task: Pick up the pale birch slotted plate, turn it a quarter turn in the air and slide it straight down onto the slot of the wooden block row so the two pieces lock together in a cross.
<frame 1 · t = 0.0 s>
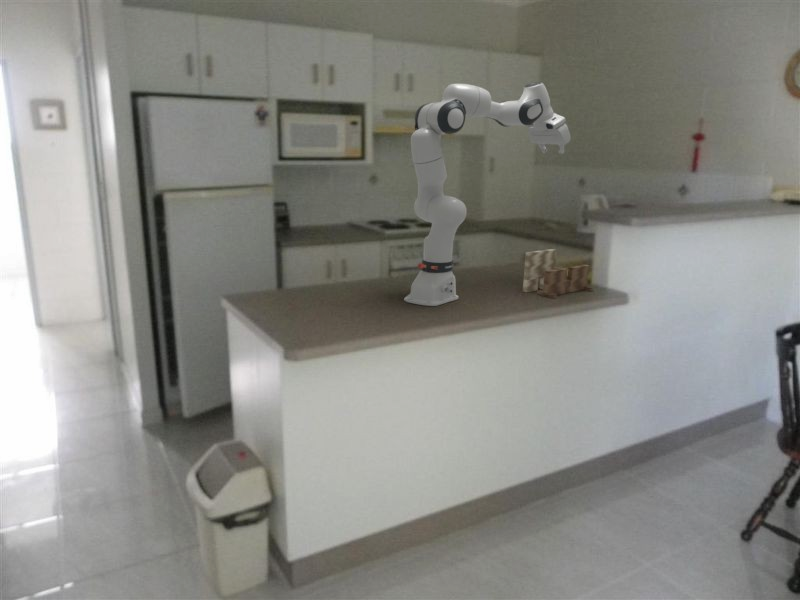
hand: (553, 152, 246), 54 cm above the countertop, fingers open, 8 cm apart
birch plate: (538, 289, 245), on the countertop
wooden block row: (565, 292, 241), on the countertop
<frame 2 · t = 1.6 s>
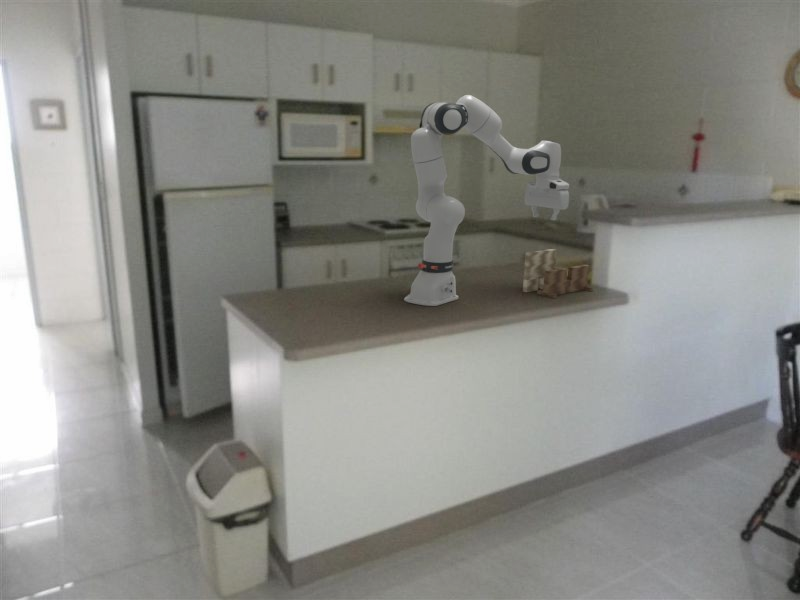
hand: (544, 218, 237), 29 cm above the countertop, fingers open, 8 cm apart
nothing on the countertop moved.
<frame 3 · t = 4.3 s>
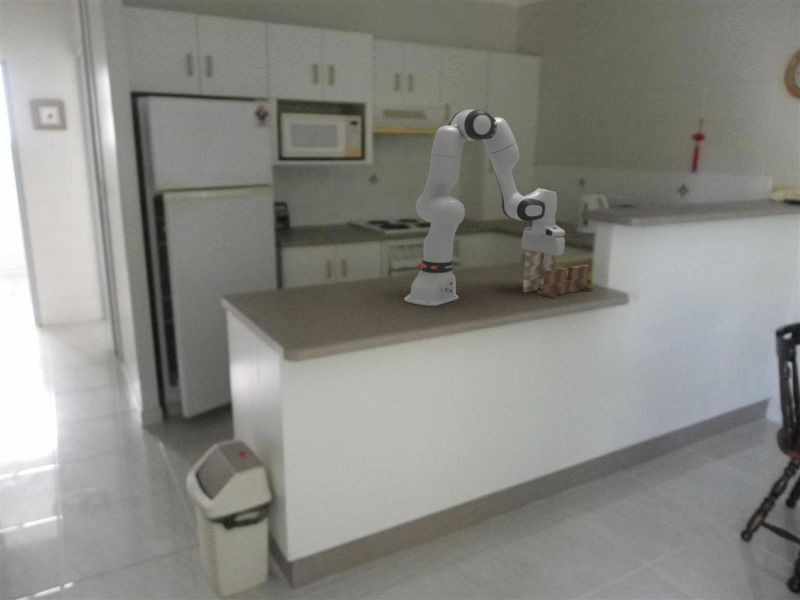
hand: (540, 262, 242), 11 cm above the countertop, fingers closed on birch plate, 2 cm apart
birch plate: (538, 289, 245), on the countertop, touching gripper
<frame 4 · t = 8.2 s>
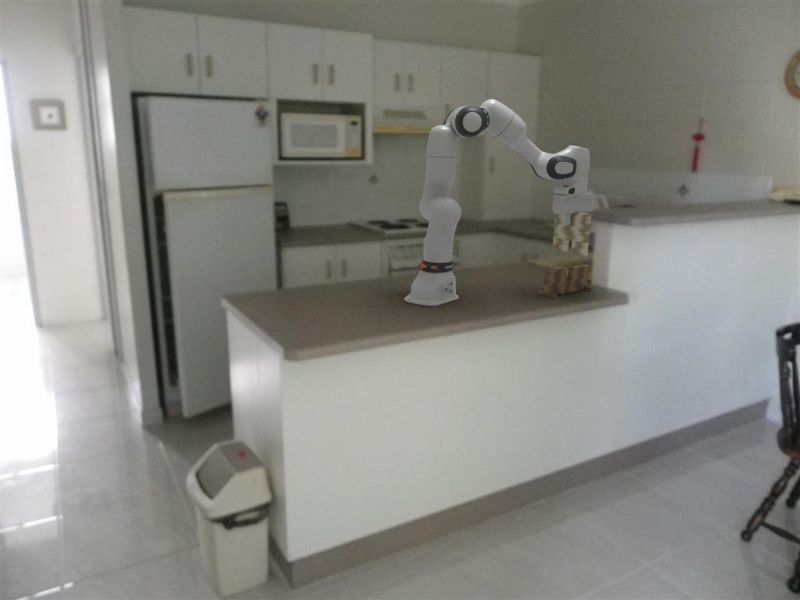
hand: (571, 224, 234), 28 cm above the countertop, fingers closed on birch plate
birch plate: (569, 252, 237), point 16 cm above the countertop, touching gripper
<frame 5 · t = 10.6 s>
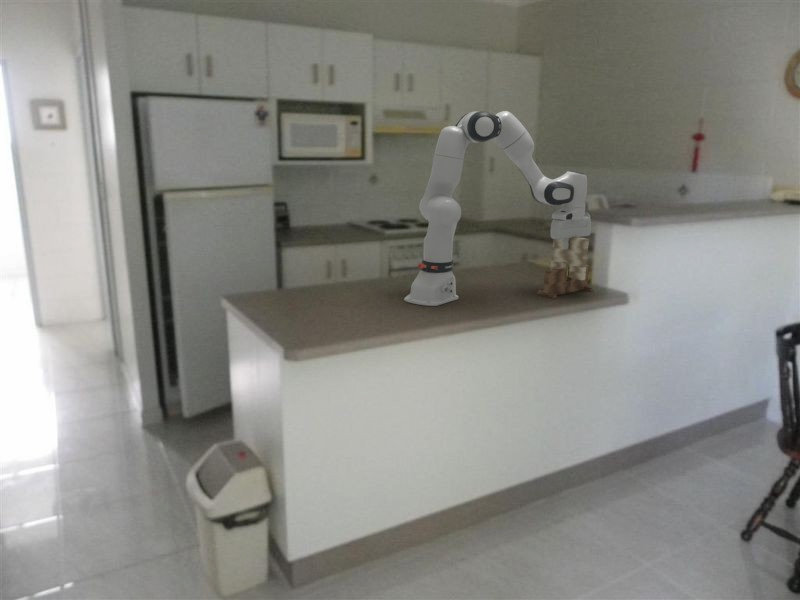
hand: (569, 248, 236), 18 cm above the countertop, fingers closed on birch plate
birch plate: (567, 275, 239), point 7 cm above the countertop, touching gripper
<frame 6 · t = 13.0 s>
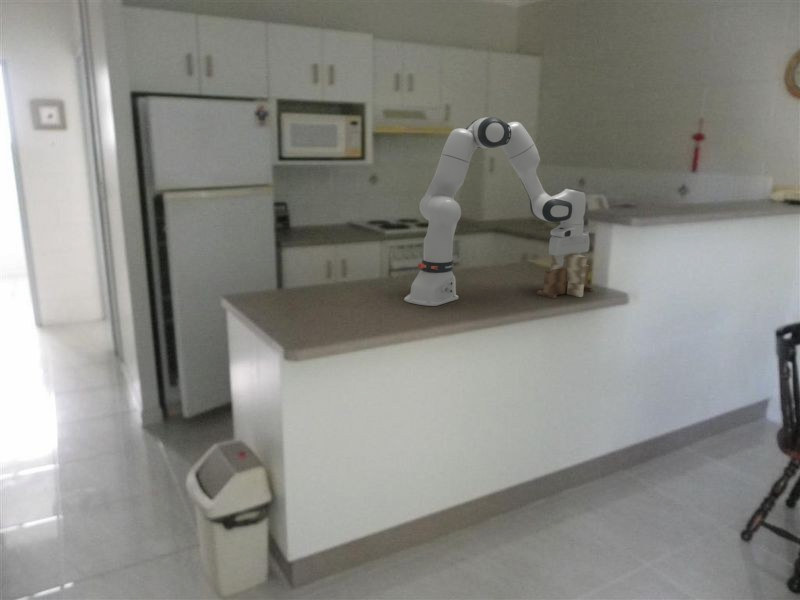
hand: (567, 264, 238), 11 cm above the countertop, fingers open, 6 cm apart
birch plate: (565, 292, 241), on the countertop, touching wooden block row
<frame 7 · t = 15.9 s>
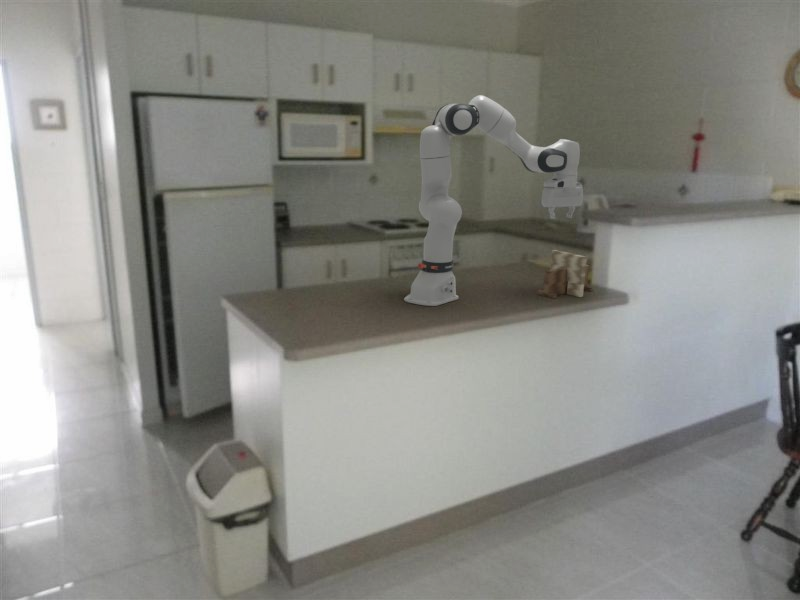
hand: (560, 218, 234), 30 cm above the countertop, fingers open, 8 cm apart
nothing on the countertop moved.
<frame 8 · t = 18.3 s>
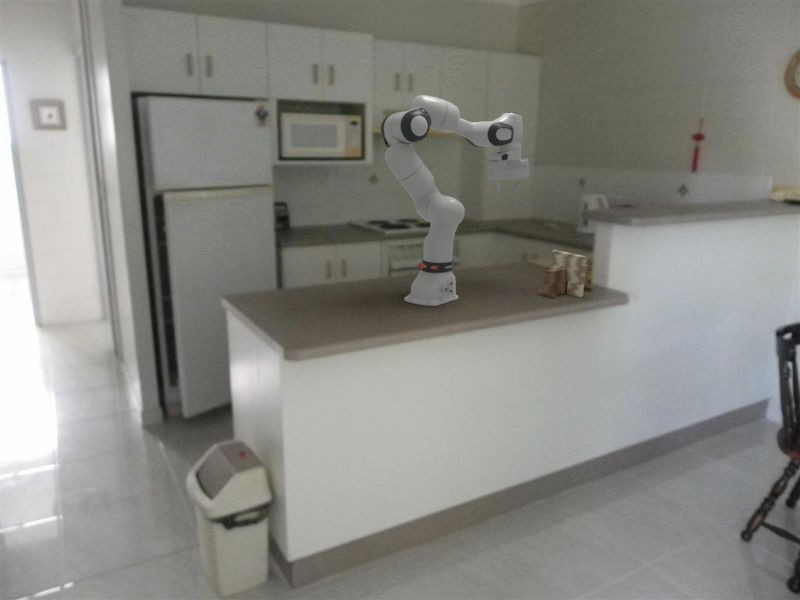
hand: (507, 190, 240), 39 cm above the countertop, fingers open, 8 cm apart
nothing on the countertop moved.
at the end: birch plate 0.1 cm off-centre on the wooden block row, point 0.0 cm above the wooden block row's base; birch plate tilted 0°; the gripper is holding nothing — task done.
